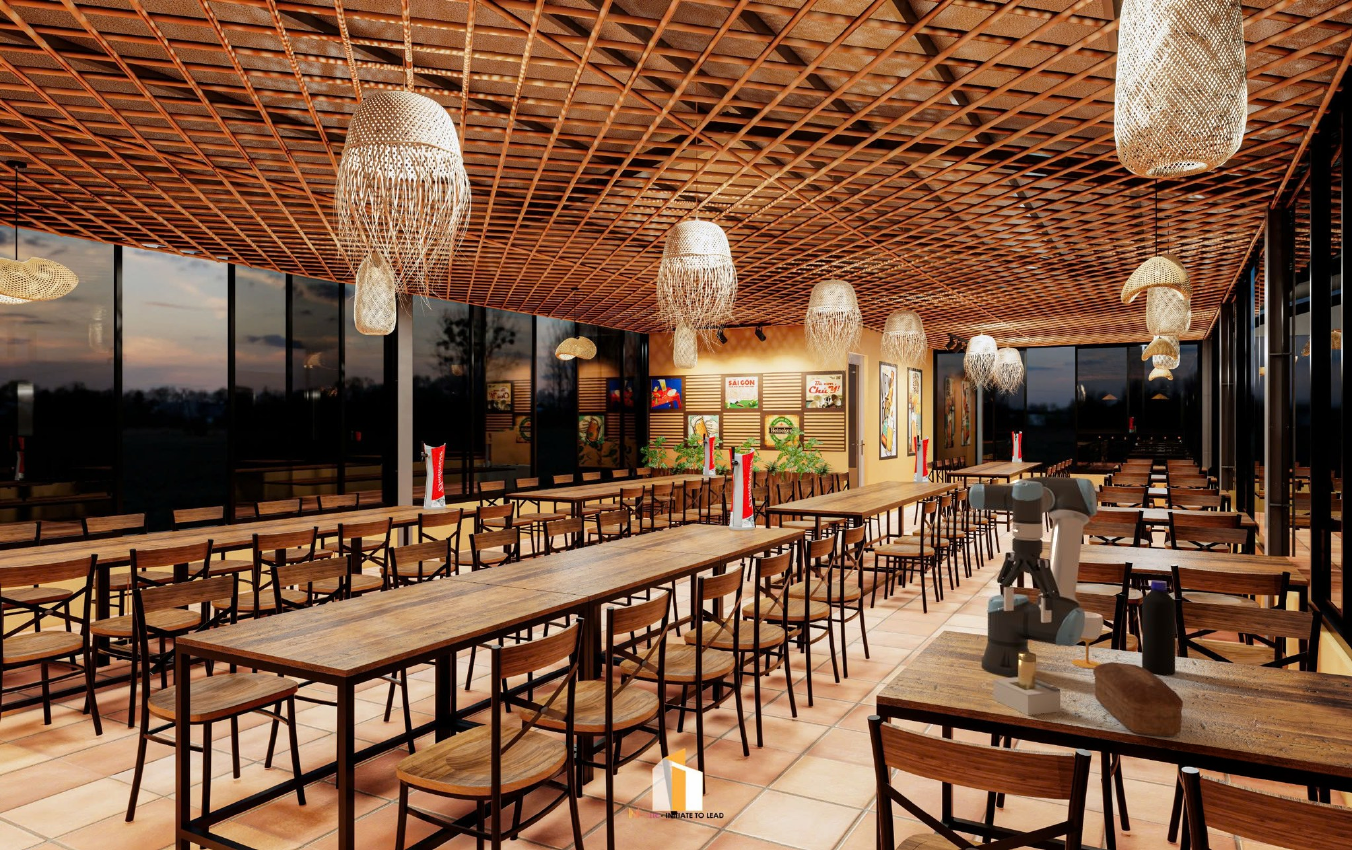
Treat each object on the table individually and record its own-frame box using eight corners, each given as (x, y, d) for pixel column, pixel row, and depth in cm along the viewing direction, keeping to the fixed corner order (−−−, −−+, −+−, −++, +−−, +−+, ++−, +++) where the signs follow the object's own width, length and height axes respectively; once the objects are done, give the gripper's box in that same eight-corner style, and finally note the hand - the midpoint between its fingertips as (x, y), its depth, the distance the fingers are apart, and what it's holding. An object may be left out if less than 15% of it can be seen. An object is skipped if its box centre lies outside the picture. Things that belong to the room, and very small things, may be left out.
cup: (1109, 669, 244) (1109, 618, 244) (1080, 668, 244) (1080, 617, 244) (1093, 660, 253) (1094, 611, 253) (1066, 660, 253) (1066, 611, 253)
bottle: (1180, 676, 237) (1180, 585, 237) (1148, 674, 239) (1149, 583, 239) (1168, 668, 245) (1168, 579, 246) (1137, 666, 247) (1138, 578, 247)
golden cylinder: (1026, 701, 213) (1027, 651, 213) (1039, 707, 209) (1039, 655, 209) (1014, 703, 212) (1014, 652, 212) (1026, 709, 207) (1026, 657, 207)
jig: (1024, 695, 218) (1024, 672, 218) (1060, 711, 206) (1060, 687, 206) (993, 699, 215) (993, 676, 215) (1027, 715, 203) (1028, 691, 203)
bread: (1141, 701, 215) (1141, 657, 215) (1190, 742, 187) (1190, 691, 187) (1087, 698, 217) (1087, 654, 217) (1128, 737, 189) (1128, 687, 189)
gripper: (984, 532, 221) (983, 606, 221) (1052, 545, 198) (1051, 628, 198) (1005, 531, 224) (1004, 605, 224) (1075, 544, 200) (1074, 626, 200)
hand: (1026, 616), depth 211 cm, fingers open, 13 cm apart
